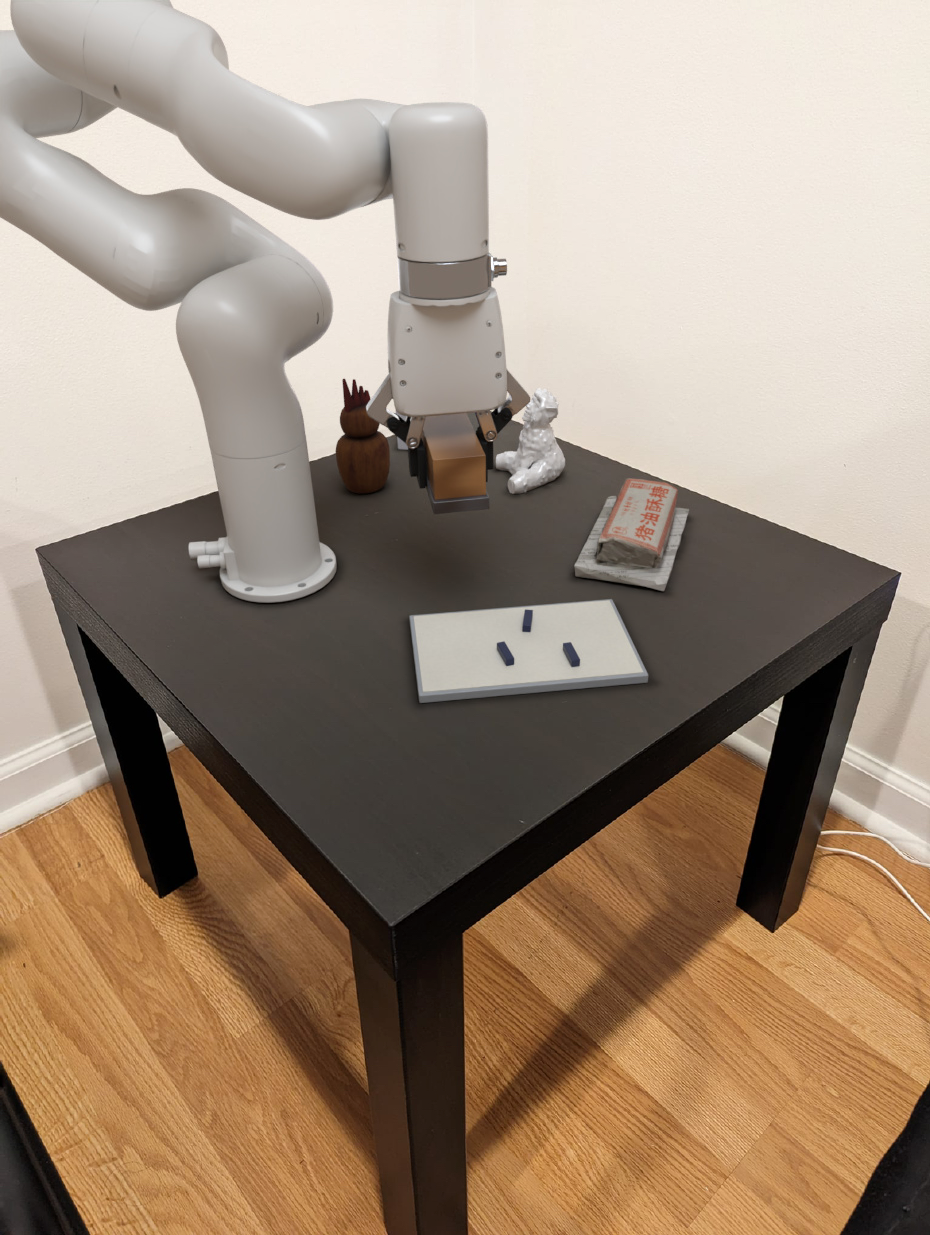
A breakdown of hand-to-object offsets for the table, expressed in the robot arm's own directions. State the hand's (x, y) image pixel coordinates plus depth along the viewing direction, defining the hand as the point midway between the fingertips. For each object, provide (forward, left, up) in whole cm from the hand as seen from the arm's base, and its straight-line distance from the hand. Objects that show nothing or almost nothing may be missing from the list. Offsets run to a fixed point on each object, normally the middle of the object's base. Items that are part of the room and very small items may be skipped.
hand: (451, 477), depth 82 cm
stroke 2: (+7, -6, -14) cm, 16 cm away
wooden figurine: (-8, +29, -15) cm, 34 cm away
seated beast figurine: (+14, +29, -15) cm, 35 cm away
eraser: (0, 0, -1) cm, 1 cm away
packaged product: (+22, +9, -15) cm, 28 cm away
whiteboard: (+6, -9, -15) cm, 18 cm away
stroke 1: (+4, -11, -14) cm, 18 cm away
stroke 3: (+10, -12, -14) cm, 20 cm away
